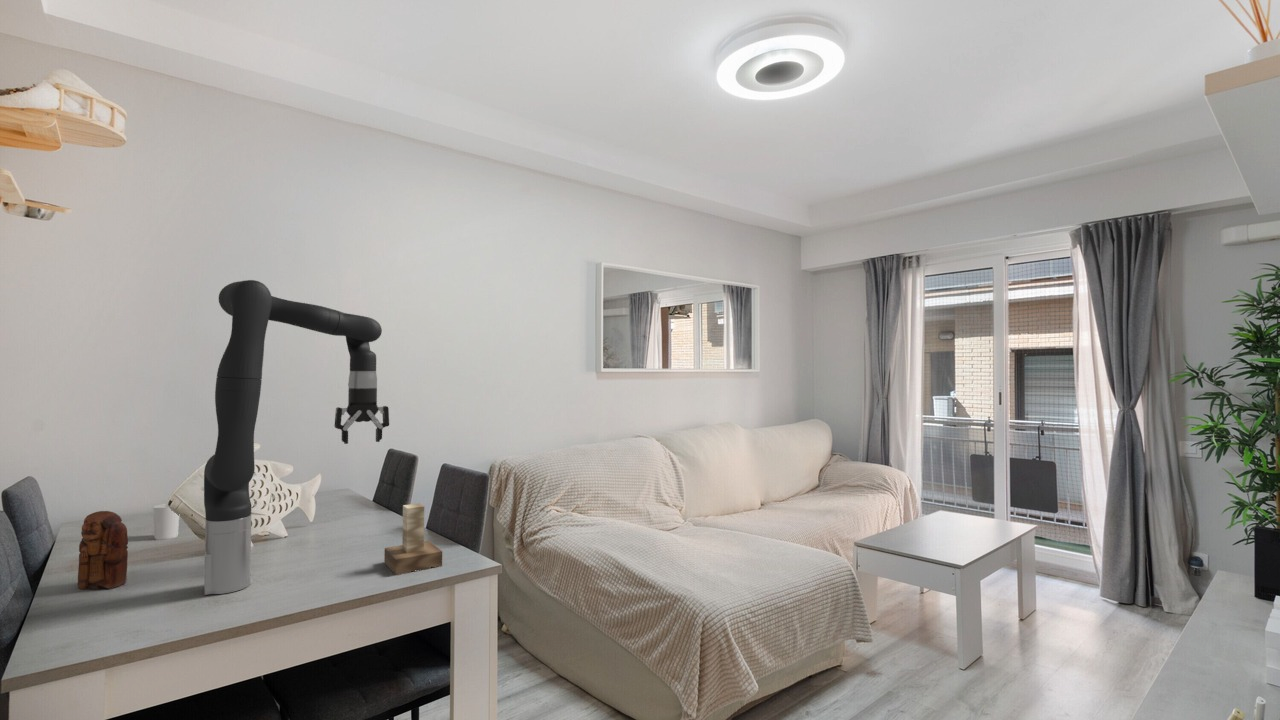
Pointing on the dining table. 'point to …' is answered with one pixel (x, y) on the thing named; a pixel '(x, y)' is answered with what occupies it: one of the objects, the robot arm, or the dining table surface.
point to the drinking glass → (165, 522)
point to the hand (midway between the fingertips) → (362, 442)
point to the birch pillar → (413, 528)
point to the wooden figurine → (103, 551)
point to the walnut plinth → (412, 558)
